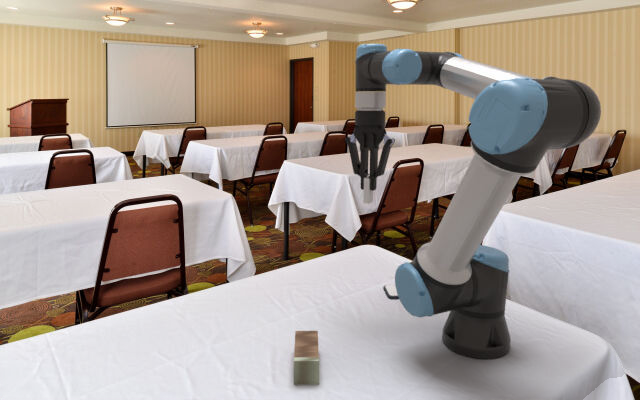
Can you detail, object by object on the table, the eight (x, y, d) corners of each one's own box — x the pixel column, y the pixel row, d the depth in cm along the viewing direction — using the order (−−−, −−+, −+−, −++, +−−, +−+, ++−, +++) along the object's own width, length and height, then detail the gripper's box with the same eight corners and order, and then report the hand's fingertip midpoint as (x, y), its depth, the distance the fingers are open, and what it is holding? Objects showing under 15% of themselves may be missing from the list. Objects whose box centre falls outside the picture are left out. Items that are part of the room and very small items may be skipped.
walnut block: (317, 330, 111) (319, 360, 98) (317, 351, 112) (319, 384, 99) (295, 330, 111) (293, 361, 98) (295, 351, 112) (293, 384, 99)
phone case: (388, 301, 140) (444, 299, 141) (388, 296, 140) (444, 294, 141) (382, 289, 149) (434, 287, 150) (382, 284, 148) (435, 282, 149)
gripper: (400, 109, 123) (397, 202, 128) (352, 108, 129) (351, 197, 134) (389, 110, 117) (386, 208, 122) (339, 109, 123) (339, 202, 128)
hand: (368, 202), depth 128 cm, fingers closed
